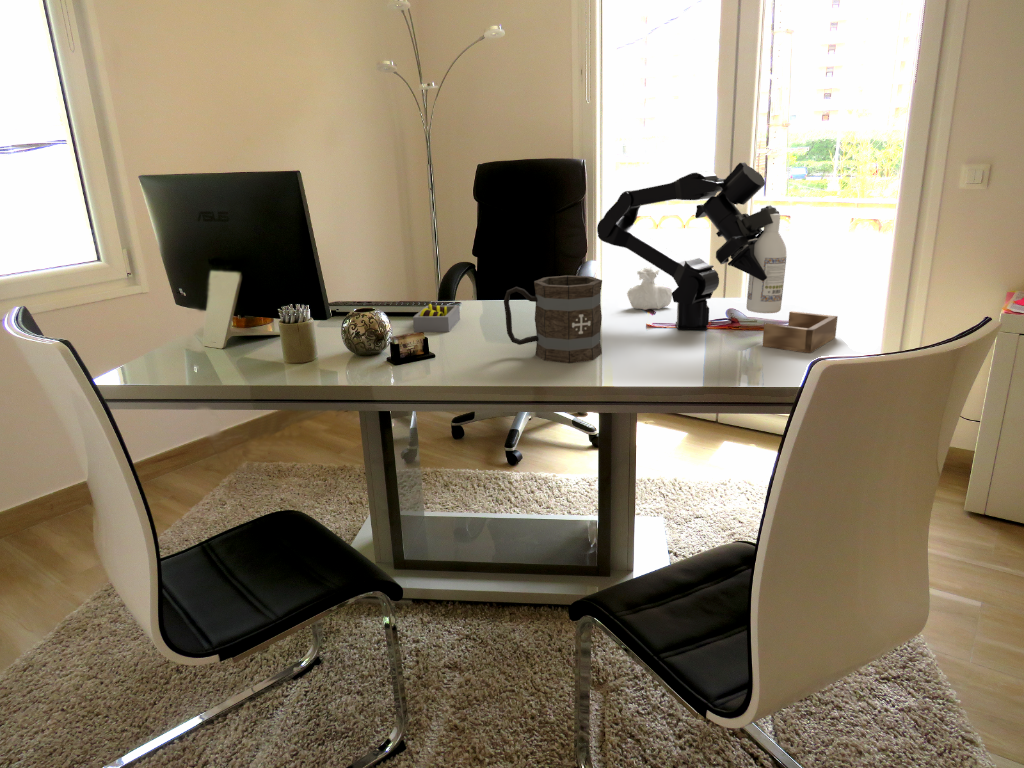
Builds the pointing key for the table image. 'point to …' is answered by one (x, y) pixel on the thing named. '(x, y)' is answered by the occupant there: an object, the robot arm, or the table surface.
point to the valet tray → (437, 321)
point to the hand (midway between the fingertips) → (772, 277)
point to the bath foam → (768, 270)
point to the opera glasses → (434, 311)
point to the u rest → (801, 332)
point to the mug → (563, 318)
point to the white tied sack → (649, 292)
